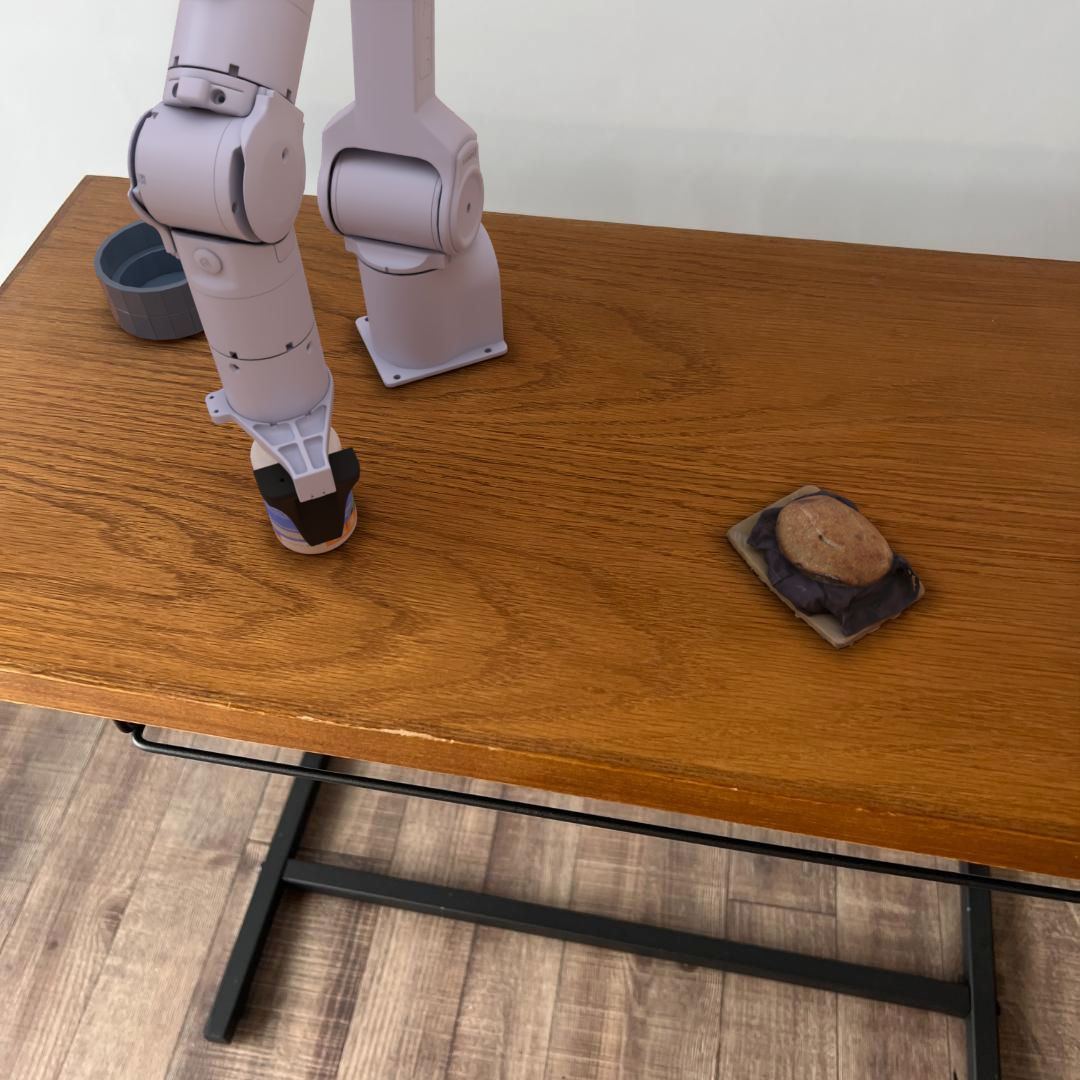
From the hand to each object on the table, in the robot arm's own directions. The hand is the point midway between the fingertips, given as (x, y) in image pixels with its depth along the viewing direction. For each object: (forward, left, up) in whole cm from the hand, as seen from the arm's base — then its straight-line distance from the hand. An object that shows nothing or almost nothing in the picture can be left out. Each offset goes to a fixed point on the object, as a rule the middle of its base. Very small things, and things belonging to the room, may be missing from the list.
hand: (308, 494), depth 68 cm
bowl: (+4, -26, -3) cm, 26 cm away
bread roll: (-28, +16, -3) cm, 32 cm away
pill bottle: (0, 0, -3) cm, 3 cm away
